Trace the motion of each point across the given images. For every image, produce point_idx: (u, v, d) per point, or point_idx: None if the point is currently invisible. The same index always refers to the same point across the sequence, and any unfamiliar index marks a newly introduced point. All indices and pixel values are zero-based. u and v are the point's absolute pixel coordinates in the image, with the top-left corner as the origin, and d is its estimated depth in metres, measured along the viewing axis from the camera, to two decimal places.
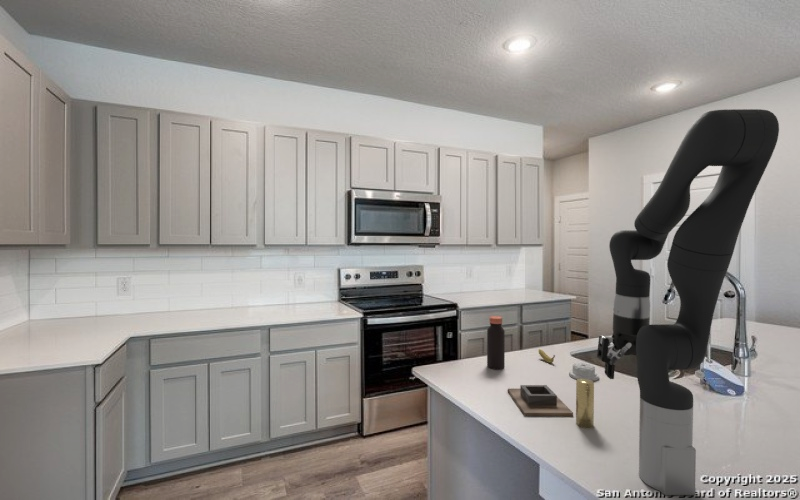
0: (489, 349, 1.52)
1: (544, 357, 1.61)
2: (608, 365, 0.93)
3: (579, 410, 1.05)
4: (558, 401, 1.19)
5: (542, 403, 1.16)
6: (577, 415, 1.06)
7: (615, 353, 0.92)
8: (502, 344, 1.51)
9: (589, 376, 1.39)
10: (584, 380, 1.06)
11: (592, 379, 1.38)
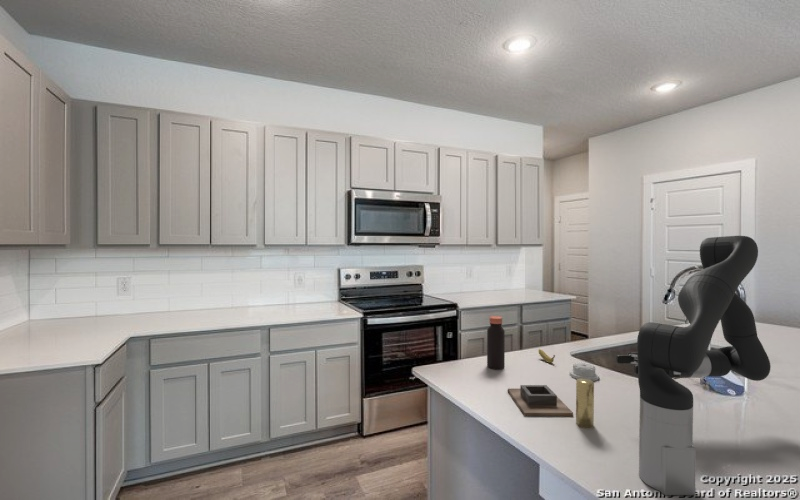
0: (489, 349, 1.52)
1: (544, 357, 1.61)
2: None
3: (579, 410, 1.05)
4: (558, 401, 1.19)
5: (542, 403, 1.16)
6: (577, 415, 1.06)
7: None
8: (502, 344, 1.51)
9: (590, 376, 1.39)
10: (584, 380, 1.06)
11: (593, 379, 1.38)
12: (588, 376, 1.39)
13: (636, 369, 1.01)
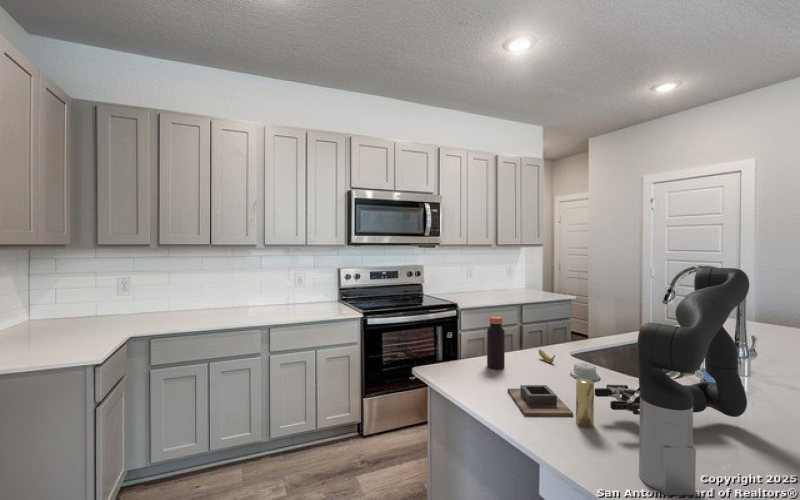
0: (489, 349, 1.52)
1: (544, 357, 1.61)
2: None
3: (579, 410, 1.05)
4: (558, 401, 1.19)
5: (542, 403, 1.16)
6: (577, 415, 1.06)
7: None
8: (502, 344, 1.51)
9: (590, 376, 1.39)
10: (584, 380, 1.06)
11: (593, 379, 1.38)
12: (589, 376, 1.39)
13: (612, 405, 1.01)
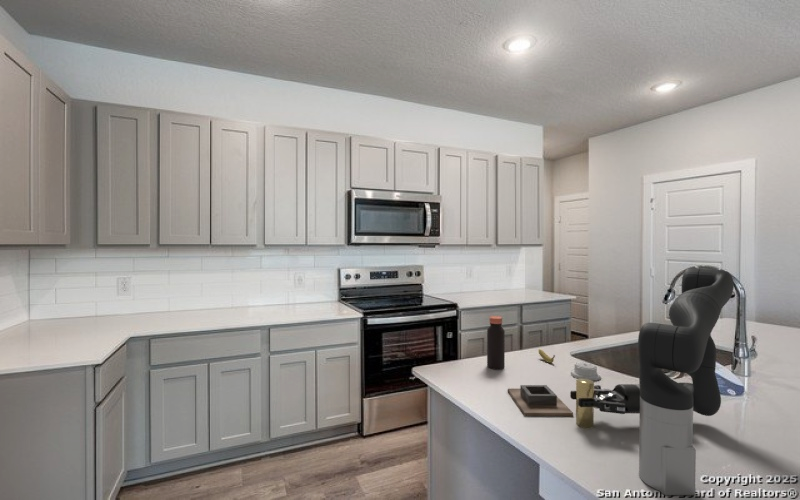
0: (489, 349, 1.52)
1: (544, 357, 1.61)
2: None
3: (579, 410, 1.05)
4: (558, 401, 1.19)
5: (542, 403, 1.16)
6: (577, 415, 1.06)
7: None
8: (502, 344, 1.51)
9: (591, 375, 1.39)
10: (584, 380, 1.06)
11: (594, 378, 1.39)
12: (589, 376, 1.39)
13: (580, 402, 1.03)
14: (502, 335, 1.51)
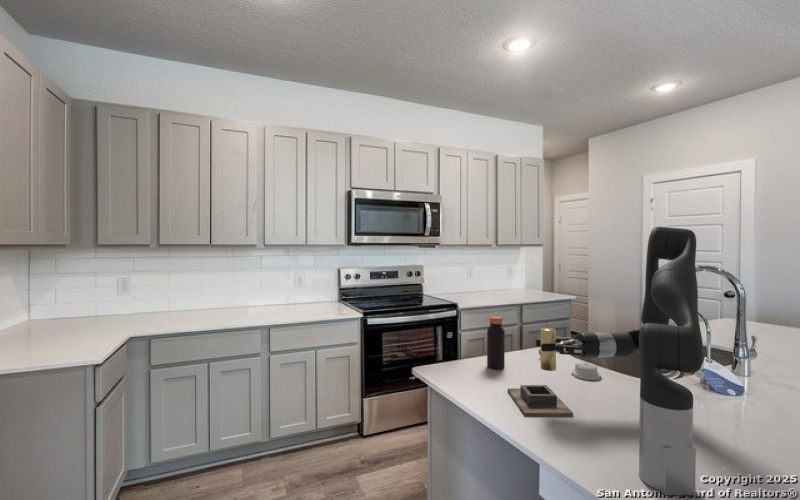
0: (489, 349, 1.52)
1: None
2: None
3: (543, 355, 1.16)
4: (558, 401, 1.19)
5: (542, 403, 1.16)
6: (541, 360, 1.17)
7: None
8: (502, 344, 1.51)
9: (592, 375, 1.40)
10: (547, 329, 1.18)
11: (595, 378, 1.39)
12: (590, 375, 1.40)
13: (542, 347, 1.15)
14: (502, 335, 1.51)
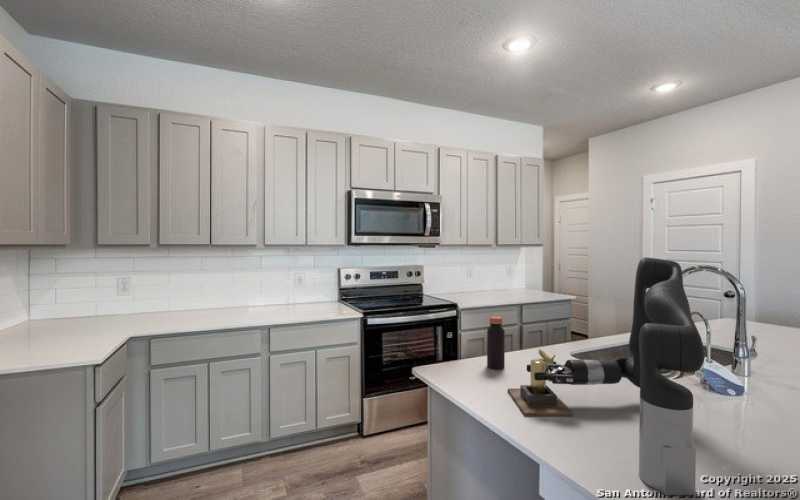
0: (489, 349, 1.52)
1: (544, 357, 1.61)
2: None
3: (533, 387, 1.19)
4: (558, 401, 1.19)
5: (542, 403, 1.16)
6: (531, 391, 1.20)
7: None
8: (502, 344, 1.51)
9: None
10: (537, 360, 1.20)
11: None
12: None
13: (535, 376, 1.16)
14: (502, 335, 1.51)
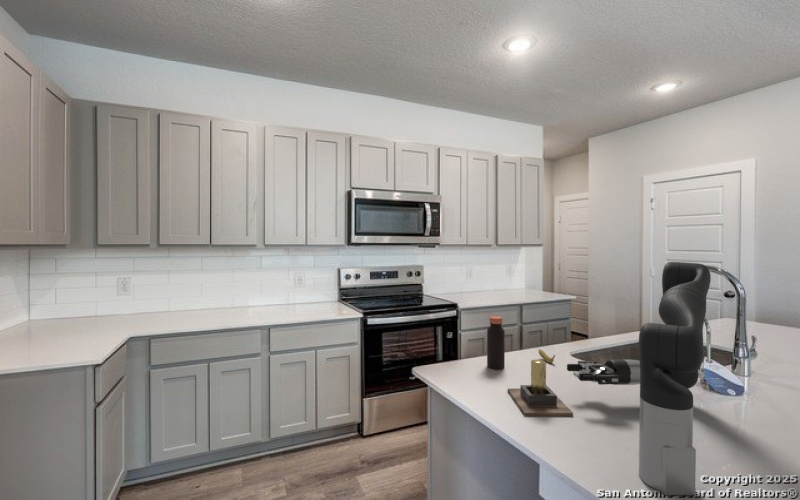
0: (489, 349, 1.52)
1: (544, 357, 1.61)
2: None
3: (533, 387, 1.19)
4: (558, 401, 1.19)
5: (542, 403, 1.16)
6: (531, 391, 1.20)
7: None
8: (502, 344, 1.51)
9: None
10: (538, 360, 1.21)
11: None
12: None
13: (580, 376, 1.15)
14: (502, 335, 1.51)
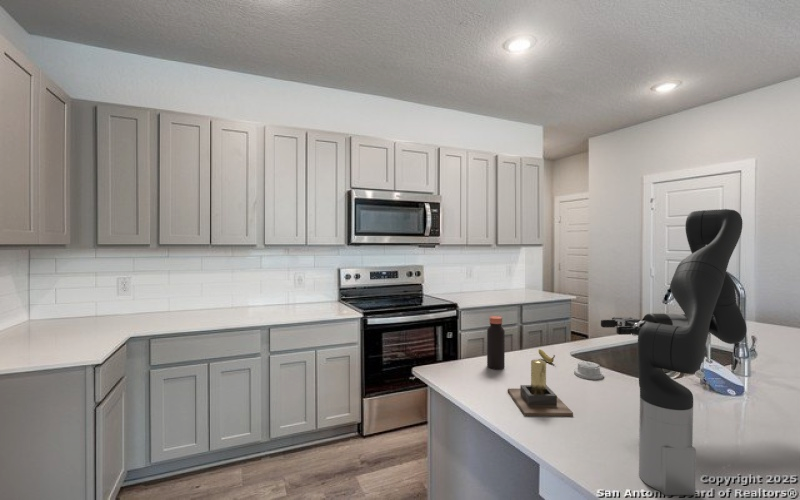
0: (489, 349, 1.52)
1: (544, 357, 1.61)
2: None
3: (533, 387, 1.19)
4: (558, 401, 1.19)
5: (542, 403, 1.16)
6: (531, 391, 1.20)
7: None
8: (502, 344, 1.51)
9: (594, 374, 1.41)
10: (538, 360, 1.21)
11: (597, 377, 1.40)
12: (593, 375, 1.41)
13: (618, 330, 1.06)
14: (502, 335, 1.51)
